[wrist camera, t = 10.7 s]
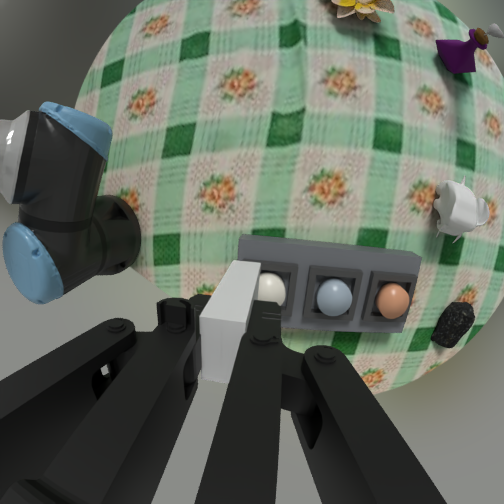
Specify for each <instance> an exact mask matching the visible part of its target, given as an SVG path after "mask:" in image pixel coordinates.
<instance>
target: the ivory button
mask: <svg viewBox="0 0 504 504" xmlns="http://www.w3.org/2000/svg"><path fill="white" fill-rule="evenodd" d="M258 300H261V301H271V302H277V303H278V304H279V306H281V305H282V303H283V302H284V300H285V284H284V281H283V279H282V278H281V277H280V276H279V275H277V274H275V273H272V272H264V273H261V274H260V280H259V291H258Z"/></svg>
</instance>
